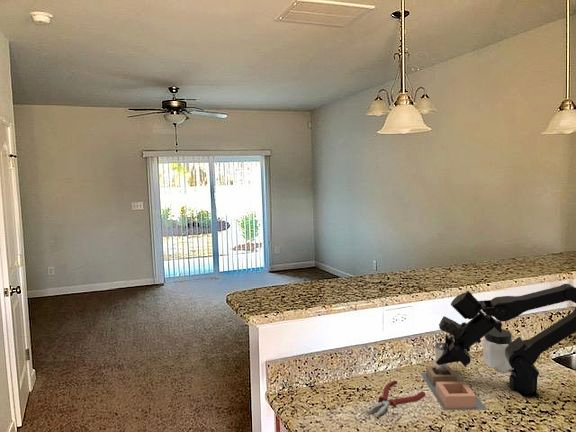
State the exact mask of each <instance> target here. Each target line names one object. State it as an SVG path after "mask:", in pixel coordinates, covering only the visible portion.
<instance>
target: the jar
mask: <svg viewBox="0 0 576 432" xmlns="http://www.w3.org/2000/svg"><path fill="white" fill-rule="evenodd" d="M512 336H513V335H512V332H511V331H509V330H507V329H503V328H502V332H501V333H500V332H499V331H497V330H496V329H495V328H494V329H492V330H491V331H490V332H489V333H487V334H486V335H485V336H484V337H482V338H483V339H482V343H483V344H482V363H483V364H485V365H486V366H487V367H489V368H490V369H491V368H492V369H494V370H495V371H496V372H500V373H506V372H508V371H511V370H513V368H512V367H511V366H510V364H509V362H508V360H507V358H506V356H505V349H506V347H507V346H508V343H510V342H513V339H512V338H513V337H512Z"/></svg>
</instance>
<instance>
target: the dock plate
mask: <svg viewBox="0 0 576 432" xmlns="http://www.w3.org/2000/svg"><path fill="white" fill-rule="evenodd" d="M420 375H421V377H422V379H424V381H425V383H426V384H427V387H428V388H429V389H430V391H431V393H432V394H433V396H434V398H435V399H436V401H437V402H438V404H439V405H440V407H441V409H442V411H482V410H483V411H487V410H488V408H487V407H486V406H485V404H484V403H483V402H482V401H481V400H480V398H479V397H478V396H477V395H476V393H475V392H474V391H473V393H474V394H475V395H476V408H448V409H445V407H444V406H443V404H442V402H441V401H440V399H439V398H438V396H437V395H436V382H455V381H465V379H464V378H463V377H462V376H461V375H460V374H459V372H454V370H453V369H452V367H450V366H449V365H448V367H447V375H436V374H435V365H426V366H425V372H420ZM465 383H466V384H467V382H466V381H465ZM469 388H470V389H471V387H470V386H469ZM471 390H472V389H471Z"/></svg>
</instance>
